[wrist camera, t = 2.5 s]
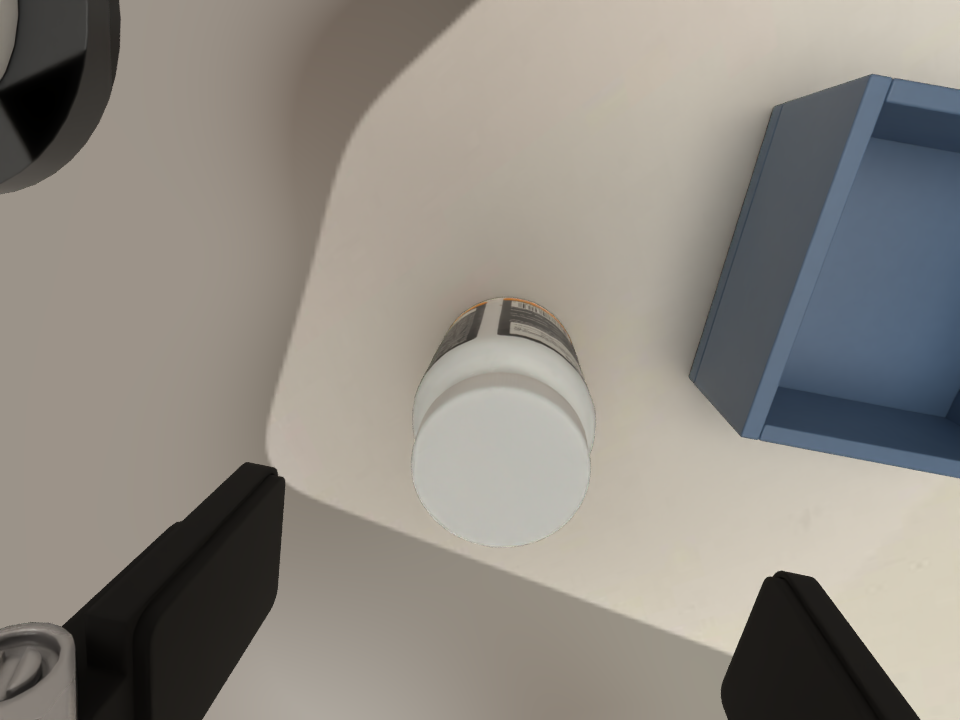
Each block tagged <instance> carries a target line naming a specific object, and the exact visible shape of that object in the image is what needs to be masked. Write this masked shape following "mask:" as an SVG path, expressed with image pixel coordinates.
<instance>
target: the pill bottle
mask: <svg viewBox="0 0 960 720" xmlns="http://www.w3.org/2000/svg"><path fill="white" fill-rule="evenodd" d="M412 421H413V433H414V438H415V441H414V445H413V450H412V457H411V469H412V478H413V483H414V486H415V490H416V492H417V495H418V497H419V499H420V501H421V503H422V505H423V506H424V507H425V509H426V510H427V511H428V513H429V514H430V515H431V517H432V518H433V519H434V520H436V521H437V522H438V523H439V524H440V525H441V526H442V527H443V528H445V529H446V530H447V531H449V532H450V533H452V534H454V535H456V536H457V537H459V538H462V539H464V540H466V541H469V542H471V543H476V544H479V545H483V546H489V547H516V546H522V545H527V544H530V543H534V542H537V541H539V540H541V539H544V538H546V537H548V536H550V535H551V534H553V533H554V532H556V531H557V530H559V529H560V528H561V527H563V526H564V525H565V524H566V523H567V522H568V521H569V520H570V519H571V518H572V517H573V515H574V514H575V513H576V511H577V510H578V509H579V507H580V505H581V504H582V502H583V499H584V497H585V495H586V492H587V489H588V485H589V481H590V473H591V463H590V453H591V451H592V447H593V443H594V437H595V430H596V413H595V408H594V404H593V401H592V398H591V395H590V393H589V390H588V387H587V384H586V382H585V379H584V377H583V374H582V371H581V368H580V365H579V362H578V358H577V355H576V353H575V350H574V348H573V345H572V342H571V340H570V337H569V335H568V334H567V332H566V330H565V328H564V327H563V326H562V324H561V323H560V322H559V321H558V319H557V318H556V317H555V316H554V315H552V314H551V313H550V312H549V311H547V310H546V309H544V308H543V307H541V306H539V305H537V304H535V303H533V302H530V301H527V300H524V299H518V298H507V297H502V298H495V299H490V300H486V301H483V302H481V303H478V304H476V305H474V306H472V307H471V308H469V309H468V310H467V311H465V312H464V313H463V314H461V315H460V316H459V317H458V318H457V319H456V320H455V322H454V323H453V324H452V325H451V327H450V328H449V330H448V332H447V333H446V335H445V336H444V338H443V340H442V342H441V344H440V346H439V348H438V350H437V352H436V353H435V355H434V357H433V359H432V361H431V363H430V365H429V367H428V369H427V371H426V373H425V375H424V376H423V378H422V380H421V382H420V385H419V387H418V389H417V392H416V395H415V399H414V405H413V420H412Z"/></svg>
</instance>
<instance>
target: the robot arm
mask: <svg viewBox="0 0 960 720" xmlns="http://www.w3.org/2000/svg"><path fill="white" fill-rule="evenodd" d="M17 21H18V0H0V80H1V78H2V77H3V75H4V73H5V72H6V69H7V66H8V63H9V60H10V57H11V54H12V51H13V48H14V44H15V37H16V29H17ZM284 495H285V479H284V478H283V477H280V476H278V472H277V469H276V468H274V467H269V466H264V465H259V464H254V463H249V462H246V463H244V464H243V465H241V466H240V467H239V468H238V469H237V470H236V471H235V472H234V473H233V474H232V475H231V476H230V477H229V478H228V479H227V480H226V481H224V482H223V483H222V484H221V485H220V486H219V487H218V488H217V489H216V490H215V491H214V492H213V493H212V494H211V495H210V496H208V498H206V499H205V500H204V501H203V502H202V503H201V504H200V505H199V506H198V507H197V508H196V509H195V510H194V511H192V512H191V513H190V514H189V515H188V516H187V517H186V518H185V519H184V520H183V521H180V522H176V523H175V524H173V525H172V526H170V527H169V528H168V529H167V530H166V531H165V532H164V533H163V534H161V536H159V537H158V538H157V539H156V540H155V541H154V542H153V543H152V544H151V545H150V546H148V547H147V548H146V549H145V550H144V551H143V552H142V553H141V554H140V555H139V556H138V557H137V558H135V559H134V560H133V561H132V562H131V563H130V564H129V565H128V566H127V567H126V568H125V569H124V570H122V571H121V572H120V573H119V574H118V575H117V576H116V577H115V578H114V579H113V580H112V581H111V582H109V584H107V585H106V586H105V587H104V588H103V589H102V590H101V591H100V592H99V593H98V594H96V595H95V596H94V597H93V598H92V599H91V600H90V601H89V602H88V603H87V604H86V605H85V606H84V607H82V608H81V609H80V610H79V611H78V612H77V613H76V614H75V615H74V616H73V617H72V618H70V619H69V620H68V621H67V622H66V623H65V624H64V625H63V626H62V627H61V626H58V625H54V624H51V623H39V622H38V623H36V622H30V623H23V624H17V625H12V626H8V627H5V628H2V629H0V720H202V719H203V717H204V716H205V714H206V713H207V711H208V709H209V708H210V706H211V705H212V703H213V701H214V700H215V698H216V696H217V695H218V693H219V692H220V690H221V688H222V687H223V685H224V684H225V682H226V681H227V679H228V677H229V676H230V674H231V673H232V671H233V669H234V668H235V666H236V665H237V663H238V661H239V660H240V658H241V656H242V655H243V653H244V652H245V650H246V649H247V647H248V645H249V644H250V642H251V640H252V639H253V637H254V636H255V634H256V632H257V631H258V629H259V628H260V626H261V624H262V623H263V621H264V620H265V618H266V616H267V615H268V613H269V612H270V610H271V608H272V606H273V604H274V601H275V598H276V595H277V590H278V578H279V577H278V576H279V564H280V550H281V536H282V522H283V509H284ZM721 699H722V704H723V708H724V710H725V713H726V715H727V718H728V720H920V718H919V717H918V716H917V714H916V713H915V712H914V710H913V709H912V708H911V706H910V705H909V704H908V702H907V701H906V700H905V698H904V697H903V696H902V694H901V693H900V692H899V690H898V689H897V688H896V686H895V685H894V684H893V682H892V681H891V680H890V678H889V677H888V675H887V674H886V673H885V671H884V670H883V669H882V667H881V666H880V665H879V663H878V662H877V661H876V659H875V658H874V657H873V655H872V654H871V653H870V651H869V650H868V649H867V647H866V646H865V645H864V643H863V642H862V641H861V639H860V638H859V636H858V635H857V634H856V632H855V631H854V630H853V628H852V627H851V626H850V624H849V623H848V622H847V620H846V619H845V618H844V616H843V615H842V614H841V612H840V611H839V610H838V608H837V607H836V606H835V604H834V603H833V602H832V600H831V599H830V597H829V596H828V595H827V593H826V592H825V591H824V589H823V588H822V587H821V585H820V584H819V583H818V582H817V581H816V580H815V579H814V578H812V577H810V576H805V575H800V574H795V573H790V572H785V571H778V572H777V573H775V574H774V576H773V577H767V578H766V579H765V580H764V582H763V584H762V586H761V589H760V591H759V594H758V596H757V599H756V601H755V604H754V606H753V609H752V611H751V613H750V616H749V618H748V621H747V623H746V626H745V628H744V631H743V633H742V636H741V638H740V640H739V643H738V645H737V648H736V650H735V653H734V655H733V658H732V661H731V663H730V665H729V667H728V670H727V672H726V675H725V677H724V680H723V683H722V687H721Z"/></svg>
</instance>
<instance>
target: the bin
mask: <svg viewBox="0 0 960 720" xmlns="http://www.w3.org/2000/svg"><path fill="white" fill-rule="evenodd" d="M689 378H690V380H691V381H692V382H693V383H694V384H695V385H696V387H697V388H698V389H699V390H700V391H701V392H702V393H703V394H704V396H705V397H706V398H707V399H708V400H709V401H710V402H711V403H712V405H713V406H714V407H715V408H716V409H717V410H718V411H719V413H720V414H721V415H722V416H723V417H724V418H725V419H726V420H727V422H728V423H729V424H730V425H731V426H732V427H733V428H734V429H735V431H736V432H737V433H738V434H739V435H740V436H741V437H745V438H750V439H755V440H758V439H759V440H761V441H766V442H771V443H776V444H782V445H787V446H792V447H797V448H803V449H808V450H813V451H818V452H824V453H829V454H834V455H839V456H845V457H850V458H855V459H861V460H866V461H871V462H876V463H882V464H887V465H892V466H897V467H903V468H908V469H913V470H918V471H924V472H929V473H934V474H939V475H945V476H950V477H955V478H960V90H959V89H954V88H948V87H942V86H937V85H931V84H926V83H920V82H914V81H909V80H903V79H897V78H894V79H892V78H891V77H887V76H881V75H875V74H871V75H868V76H865V77H861V78H858V79H855V80H852V81H849V82H846V83H843V84H840V85H837V86H834V87H831V88H828V89H825V90H822V91H819V92H816V93H813V94H810V95H807V96H804V97H801V98H798V99H795V100H791V101H788V102H785V103H783V104H780V105H777V106H775V107H774V108H773V111H772V115H771V118H770V121H769V124H768V127H767V130H766V134H765V137H764V140H763V143H762V146H761V150H760V153H759V156H758V159H757V162H756V165H755V169H754V172H753V175H752V178H751V181H750V184H749V188H748V191H747V194H746V197H745V200H744V204H743V207H742V210H741V213H740V216H739V219H738V223H737V226H736V229H735V232H734V235H733V239H732V242H731V245H730V248H729V251H728V254H727V258H726V261H725V264H724V267H723V270H722V273H721V277H720V280H719V283H718V286H717V289H716V293H715V296H714V299H713V302H712V305H711V308H710V312H709V315H708V318H707V321H706V324H705V327H704V331H703V334H702V337H701V340H700V343H699V347H698V350H697V353H696V356H695V359H694V362H693V366H692V369H691V372H690V375H689Z"/></svg>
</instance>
